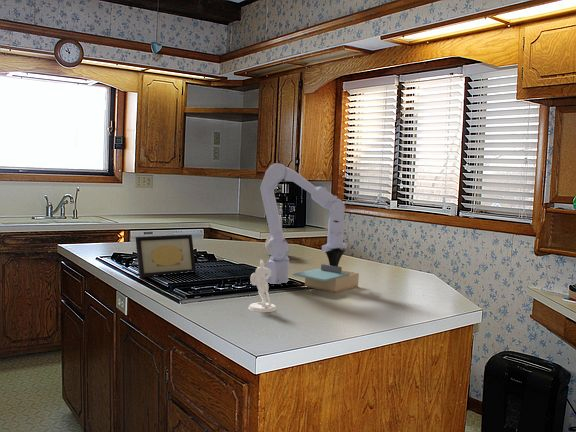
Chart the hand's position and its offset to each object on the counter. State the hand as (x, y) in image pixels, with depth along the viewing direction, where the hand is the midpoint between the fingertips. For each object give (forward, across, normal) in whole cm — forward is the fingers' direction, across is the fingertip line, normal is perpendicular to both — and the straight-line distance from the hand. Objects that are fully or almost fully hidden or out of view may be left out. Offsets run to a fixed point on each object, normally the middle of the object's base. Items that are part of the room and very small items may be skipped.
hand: (333, 269), depth 213 cm
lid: (+1, -8, 0) cm, 8 cm away
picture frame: (+7, -30, +57) cm, 65 cm away
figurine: (+7, -45, -3) cm, 45 cm away
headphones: (+7, +40, +57) cm, 70 cm away
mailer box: (+6, -1, 0) cm, 6 cm away
